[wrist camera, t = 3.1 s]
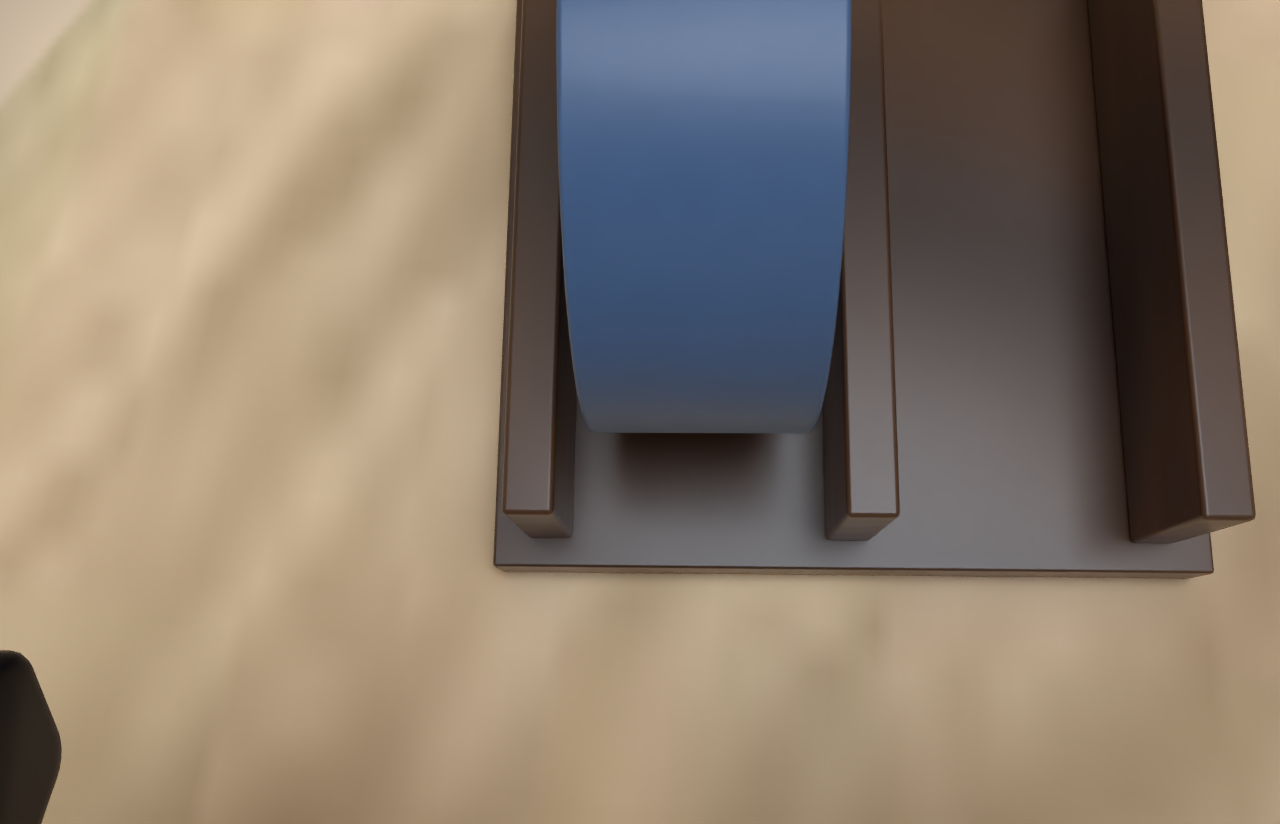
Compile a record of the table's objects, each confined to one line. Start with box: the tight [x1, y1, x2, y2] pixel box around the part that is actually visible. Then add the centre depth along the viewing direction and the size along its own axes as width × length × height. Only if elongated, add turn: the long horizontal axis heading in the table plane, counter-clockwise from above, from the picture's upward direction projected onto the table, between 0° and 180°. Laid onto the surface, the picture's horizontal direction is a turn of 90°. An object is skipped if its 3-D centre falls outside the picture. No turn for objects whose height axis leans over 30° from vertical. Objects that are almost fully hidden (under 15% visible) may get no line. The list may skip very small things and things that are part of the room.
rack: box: [493, 0, 1256, 578], centre depth 21 cm, size 12×12×4 cm
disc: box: [556, 0, 851, 434], centre depth 17 cm, size 9×3×9 cm, turn 179°
